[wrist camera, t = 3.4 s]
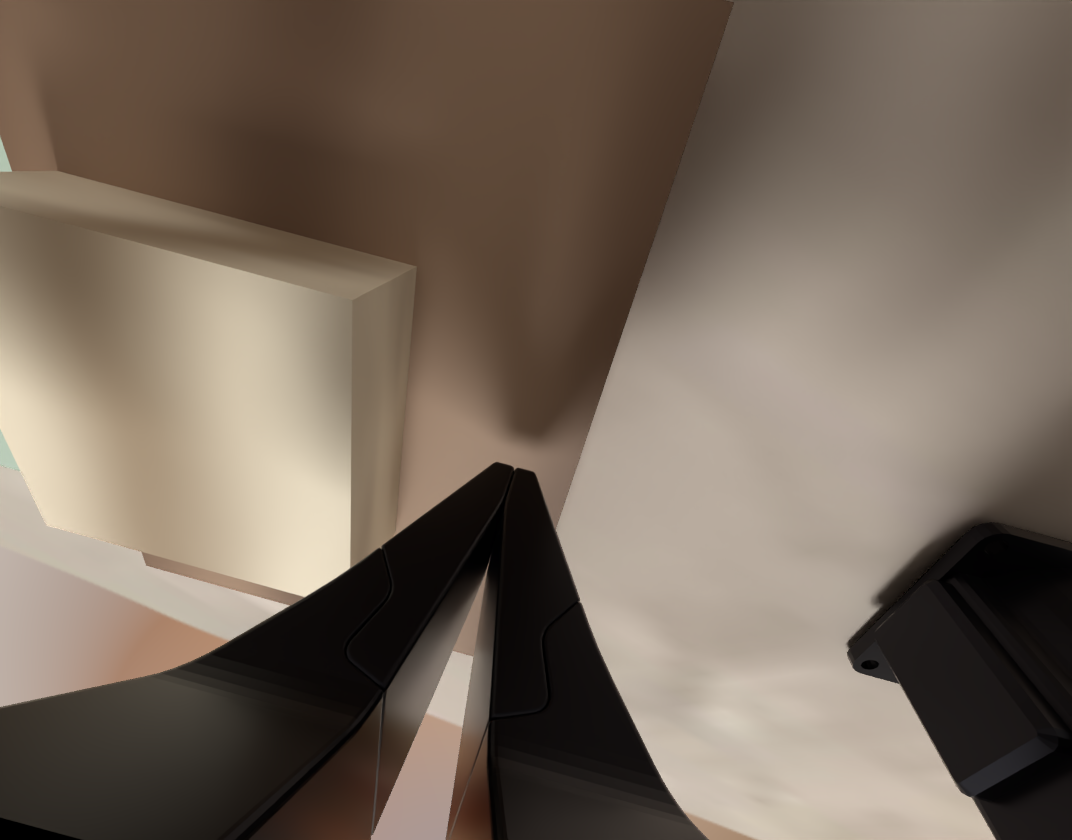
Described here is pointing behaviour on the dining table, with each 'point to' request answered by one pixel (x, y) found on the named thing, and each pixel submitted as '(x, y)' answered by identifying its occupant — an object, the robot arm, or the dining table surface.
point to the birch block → (200, 381)
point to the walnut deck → (401, 178)
